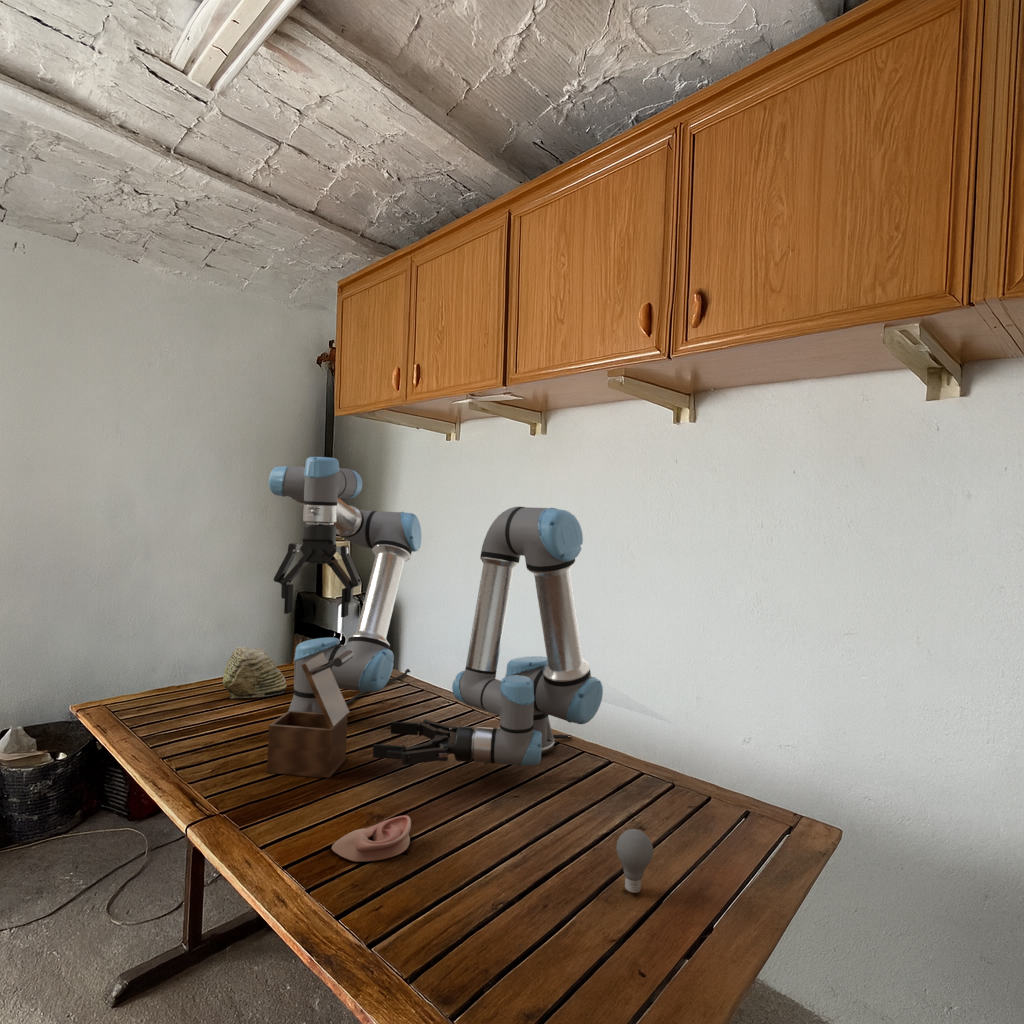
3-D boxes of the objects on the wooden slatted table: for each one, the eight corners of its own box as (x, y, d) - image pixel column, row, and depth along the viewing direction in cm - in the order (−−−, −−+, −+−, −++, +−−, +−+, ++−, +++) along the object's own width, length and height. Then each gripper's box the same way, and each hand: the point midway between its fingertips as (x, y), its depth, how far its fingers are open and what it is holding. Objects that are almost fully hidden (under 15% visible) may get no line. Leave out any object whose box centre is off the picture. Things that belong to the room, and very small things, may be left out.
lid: (301, 665, 143) (334, 650, 142) (319, 654, 153) (350, 640, 152) (329, 728, 142) (362, 713, 142) (345, 713, 153) (376, 699, 152)
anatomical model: (323, 834, 111) (353, 804, 123) (323, 856, 111) (352, 824, 123) (394, 845, 109) (418, 814, 120) (393, 868, 109) (417, 834, 120)
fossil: (218, 695, 195) (220, 647, 195) (278, 685, 208) (279, 640, 207) (228, 703, 189) (230, 653, 188) (289, 692, 201) (290, 645, 201)
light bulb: (610, 879, 108) (613, 822, 108) (644, 879, 109) (647, 822, 109) (619, 902, 102) (622, 840, 102) (655, 901, 103) (658, 840, 103)
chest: (266, 772, 144) (268, 725, 144) (287, 755, 154) (288, 710, 154) (329, 778, 143) (331, 730, 142) (345, 759, 153) (347, 715, 153)
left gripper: (260, 521, 145) (257, 614, 145) (366, 526, 142) (363, 620, 143) (275, 520, 152) (272, 608, 153) (377, 525, 150) (373, 614, 150)
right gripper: (464, 786, 132) (364, 779, 134) (481, 739, 157) (397, 733, 159) (464, 750, 132) (365, 744, 134) (481, 709, 156) (397, 704, 158)
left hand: (316, 614), depth 148 cm, fingers open, 13 cm apart
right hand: (382, 738), depth 146 cm, fingers open, 13 cm apart
